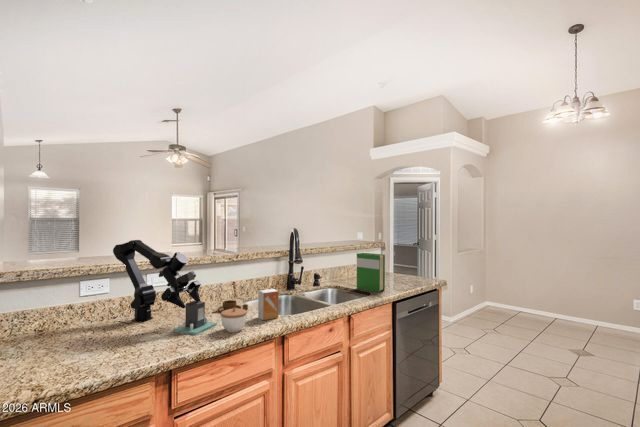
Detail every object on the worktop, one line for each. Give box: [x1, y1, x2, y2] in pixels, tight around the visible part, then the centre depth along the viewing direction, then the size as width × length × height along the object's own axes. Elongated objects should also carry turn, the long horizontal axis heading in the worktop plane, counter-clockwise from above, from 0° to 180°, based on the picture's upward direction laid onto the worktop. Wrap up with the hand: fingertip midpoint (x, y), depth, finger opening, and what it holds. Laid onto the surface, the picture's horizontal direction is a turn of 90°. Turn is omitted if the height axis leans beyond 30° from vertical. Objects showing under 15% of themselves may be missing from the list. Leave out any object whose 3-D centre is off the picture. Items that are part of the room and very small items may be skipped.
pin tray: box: [172, 317, 217, 336], centre depth 141 cm, size 12×13×4 cm
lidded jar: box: [220, 308, 248, 333], centre depth 139 cm, size 11×11×9 cm
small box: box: [257, 288, 280, 321], centre depth 157 cm, size 8×6×13 cm
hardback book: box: [356, 252, 386, 293], centre depth 220 cm, size 18×7×24 cm, turn 50°
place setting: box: [211, 299, 249, 314], centre depth 165 cm, size 18×20×6 cm
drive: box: [184, 300, 206, 329], centre depth 141 cm, size 6×5×10 cm
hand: (192, 305), depth 141 cm, fingers open, 9 cm apart
